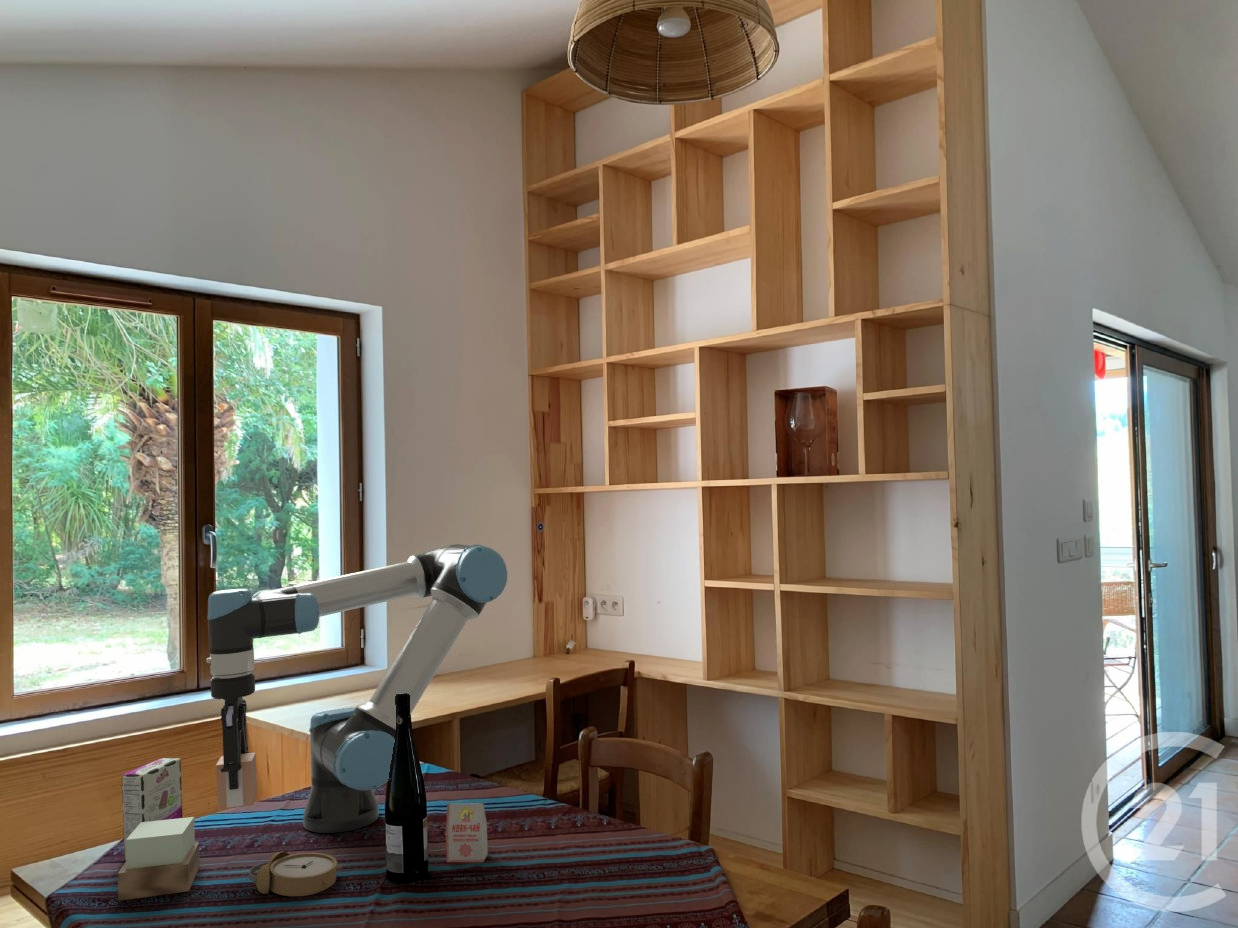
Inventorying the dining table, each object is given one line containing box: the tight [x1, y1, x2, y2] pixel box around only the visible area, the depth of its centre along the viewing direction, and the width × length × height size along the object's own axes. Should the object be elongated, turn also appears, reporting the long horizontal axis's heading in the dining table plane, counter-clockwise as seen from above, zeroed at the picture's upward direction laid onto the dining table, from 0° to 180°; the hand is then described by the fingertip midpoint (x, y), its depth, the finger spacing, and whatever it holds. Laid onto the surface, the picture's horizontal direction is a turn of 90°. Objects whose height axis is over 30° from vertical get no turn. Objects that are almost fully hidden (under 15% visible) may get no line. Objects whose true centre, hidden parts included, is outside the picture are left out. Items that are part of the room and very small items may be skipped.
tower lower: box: [117, 841, 201, 901], centre depth 163 cm, size 11×11×5 cm
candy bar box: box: [121, 757, 183, 861], centre depth 179 cm, size 11×5×16 cm, turn 168°
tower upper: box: [125, 816, 196, 869], centre depth 164 cm, size 9×9×5 cm
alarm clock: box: [248, 851, 343, 897], centre depth 161 cm, size 11×5×15 cm
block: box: [215, 752, 258, 811], centre depth 169 cm, size 6×6×8 cm
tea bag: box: [445, 802, 489, 863], centre depth 170 cm, size 4×7×10 cm, turn 85°
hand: (237, 799), depth 169 cm, fingers closed on block, 6 cm apart
